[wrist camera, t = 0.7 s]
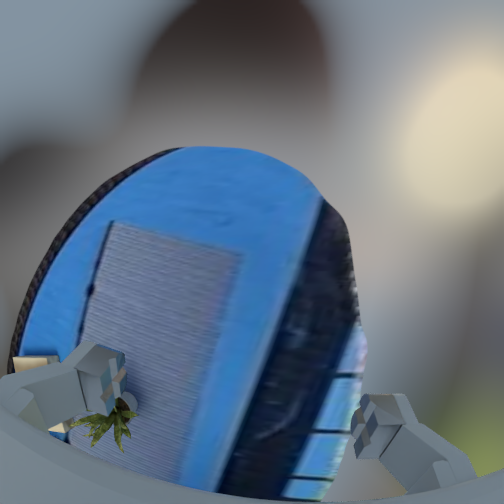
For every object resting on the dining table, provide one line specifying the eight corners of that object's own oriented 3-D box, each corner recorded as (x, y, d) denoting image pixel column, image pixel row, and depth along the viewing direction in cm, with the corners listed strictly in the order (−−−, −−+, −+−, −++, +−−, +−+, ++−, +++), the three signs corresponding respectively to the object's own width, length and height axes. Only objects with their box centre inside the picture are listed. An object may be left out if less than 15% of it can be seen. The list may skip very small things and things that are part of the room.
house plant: (94, 362, 57) (54, 375, 41) (151, 369, 57) (122, 387, 41) (100, 420, 54) (65, 445, 38) (156, 429, 55) (131, 462, 39)
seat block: (75, 426, 54) (65, 432, 49) (40, 422, 53) (30, 427, 48) (58, 355, 57) (46, 357, 52) (24, 355, 56) (12, 357, 51)
